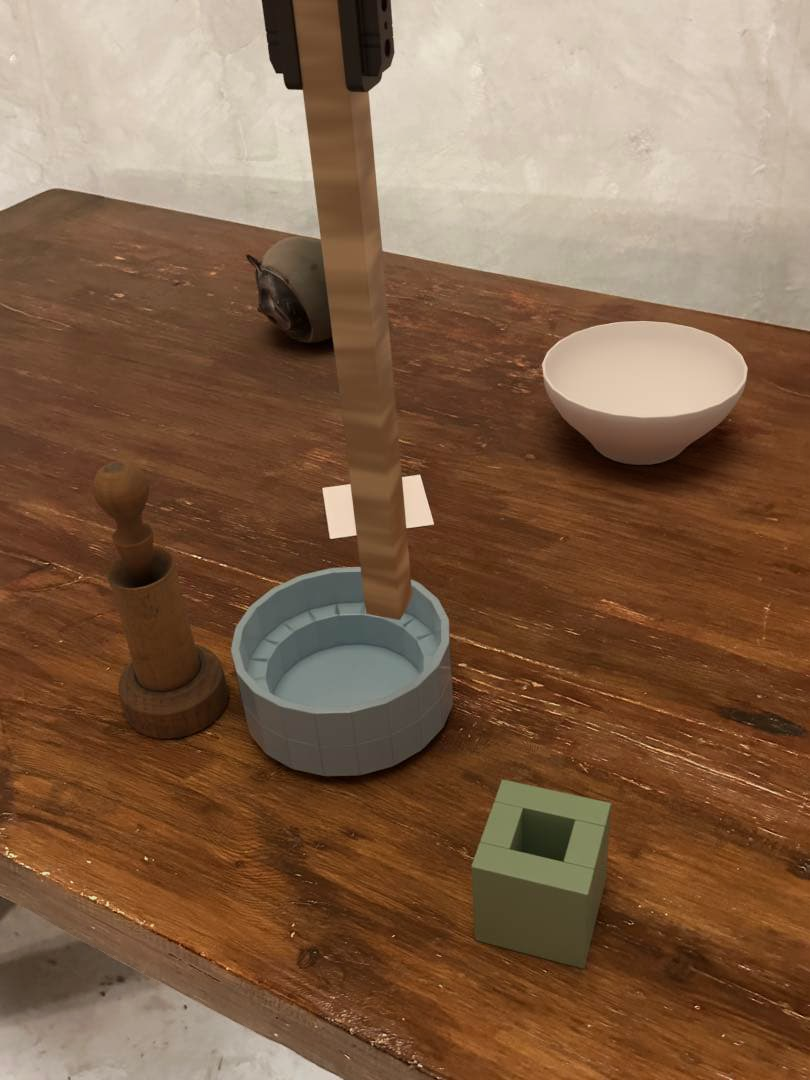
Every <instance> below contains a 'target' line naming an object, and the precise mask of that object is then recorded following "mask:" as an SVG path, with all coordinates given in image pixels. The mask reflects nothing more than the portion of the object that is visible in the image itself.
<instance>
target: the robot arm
mask: <svg viewBox="0 0 810 1080" xmlns="http://www.w3.org/2000/svg"><path fill="white" fill-rule="evenodd" d="M337 1H338V11H339V21H340V32H341V42H342V52H343V62H344V72H345V82H346V87H347V90H349V91H351V92H368V91H369V92H370V91H371V90H372V89H373V88H375V87H376V86H377V85H378V84H379V83H381V82H382V79H383V78H382V77H383V74H384V72H386V71H387V70H388V69H389V68H390V67H392V63H393V60H394V57H395V53H396V52H395V40H394V27H393V13H392V0H337ZM261 6H262V14H263V21H264V28H265V29H264V30H265V36H266V43H267V50H268V58H269V62H270V64H271V66H272V68H273V70H274V72H275V74H277V75H278V74H279V75H282V78H283V84H284V86H285V88H286V89H287V90H289V91H291V90H292V91H303V88H302V80H301V72H300V64H299V55H298V47H297V39H296V30H295V22H294V14H293V6H292V0H261Z"/></svg>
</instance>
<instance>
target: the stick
mask: <svg viewBox="0 0 810 1080" xmlns="http://www.w3.org/2000/svg"><path fill="white" fill-rule="evenodd" d="M292 6H293V14H294V22H295V30H296V39H297V47H298V55H299V64H300V72H301V80H302V88H303V90H302V97H303V104H304V105H303V106H304V113H305V120H306V129H307V137H308V145H309V154H310V162H311V169H312V170H311V171H312V178H313V185H314V186H313V187H314V196H315V203H316V212H317V219H318V228H319V229H318V230H319V236H320V241H321V245H322V254H323V262H324V270H325V278H326V287H327V295H328V303H329V311H330V320H331V328H332V336H333V337H332V343H333V344H332V345H333V351H334V359H335V360H334V361H335V368H336V376H337V384H338V385H337V386H338V394H339V402H340V410H341V417H342V425H343V435H344V442H345V443H344V444H345V451H346V459H347V460H346V461H347V469H348V475H349V477H348V478H349V484H350V485H351V493H352V501H353V510H354V518H355V526H356V534H357V535H356V541H357V550H358V558H359V567H361V576H362V584H363V592H364V601H365V609H366V614H370V615H375V616H380V617H386V618H391V619H396V620H400V619H401V618H402V616H403V614H404V612H405V610H406V608H407V606H408V605H409V603H410V601H411V599H412V586H411V580H412V577H411V575H412V574H411V565H410V564H411V563H410V553H409V543H408V541H409V540H408V528H406V517H405V506H404V494H403V483H402V477H403V473H402V472H403V471H402V459H401V450H400V437H399V426H398V415H397V404H396V393H395V381H394V368H393V358H392V346H391V335H390V334H391V333H390V323H389V312H388V299H387V289H386V287H387V286H386V278H385V275H386V274H385V265H384V254H383V253H384V252H383V244H382V232H381V231H382V230H381V219H380V208H379V206H380V205H379V197H378V196H379V195H378V185H377V184H378V183H377V171H376V161H375V160H376V159H375V150H374V139H373V137H374V136H373V127H372V126H373V125H372V116H371V103H370V91H368V92H351V91H349V90H347V87H346V82H345V72H344V62H343V52H342V42H341V32H340V21H339V11H338V1H337V0H292Z"/></svg>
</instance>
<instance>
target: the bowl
mask: <svg viewBox="0 0 810 1080" xmlns="http://www.w3.org/2000/svg"><path fill="white" fill-rule="evenodd" d="M541 370H542V376H543V385H544V389H545V392H546V394H547V396H548V398H549V401H551V403H552V404H553V406H554V407H555V408H556V410H557V412H558V413H559V415H560V416H561V417H562V419H564V421H565V422H566V423H567V424H568V425H569V426H570V427H572V428H574V429H575V430H576V431H577V432H578V433H580V435H582V436H583V437H584V438H585V439H586V440H587V441H588V442H589V443H590V444H591V445H592V446H593V447H594V449H595V450H596V451H597V452H598V453H600V454H601V455H602V456H603V457H605V458H607V459H609V460H612V461H615V462H616V463H617V462H618V463H621V464H626V465H634V466H648V465H649V466H650V465H655V464H661V463H664V462H667V461H670V460H671V459H674V458H675V457H677V456H678V455H680V454H681V453H682V452H683V451H684V450H686V448H687V447H689V445H691V444H692V443H694V442H696V441H697V440H698V439H700V438H701V437H703V436H705V435H706V434H708V433H709V432H711V431H712V430H713V429H714V428H716V427H717V426H718V425H720V424H721V423H722V422H723V421H724V420H725V419H726V418H727V417H728V415H729V414H730V413H731V412H732V411H733V409H734V407H735V406H736V405H737V404H738V402H739V400H740V399H741V397H742V395H743V394H744V390H745V387H746V383H747V377H748V370H749V367H748V366H747V364H746V361H745V359H744V357H743V355H742V354H741V353H740V351H738V350H737V349H736V348H735V347H734V346H733V345H732V344H731V343H729V342H728V341H725V340H724V339H722V338H720V337H719V336H717V335H715V334H713V333H710V332H707V331H704V330H702V329H698V328H695V327H692V326H687V325H681V324H678V323H677V324H676V323H672V322H662V321H651V320H650V321H649V320H648V321H647V320H636V321H635V320H632V321H617V322H611V323H605V324H600V325H599V324H598V325H594V326H591V327H587V328H584V329H581V330H578V331H575V332H573V333H571V334H569V335H567V336H565V337H564V338H562V339H560V340H558V341H557V342H556V343H555V344H554V345H553V346H552V347H551V348H550V349H548V351H547V352H546V354H545V356H544V359H543V361H542V363H541Z"/></svg>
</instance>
